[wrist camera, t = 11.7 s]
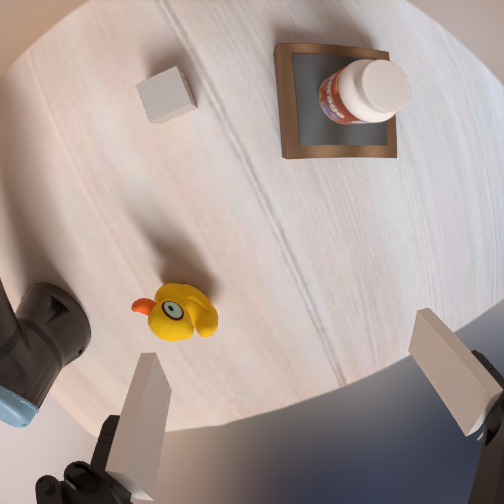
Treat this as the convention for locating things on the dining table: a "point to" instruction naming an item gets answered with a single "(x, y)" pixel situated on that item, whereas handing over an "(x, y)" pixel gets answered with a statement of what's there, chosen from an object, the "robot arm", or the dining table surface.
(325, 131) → the podium
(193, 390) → the dining table surface
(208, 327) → the duckling
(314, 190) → the dining table surface
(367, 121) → the pill bottle
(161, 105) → the stone block
